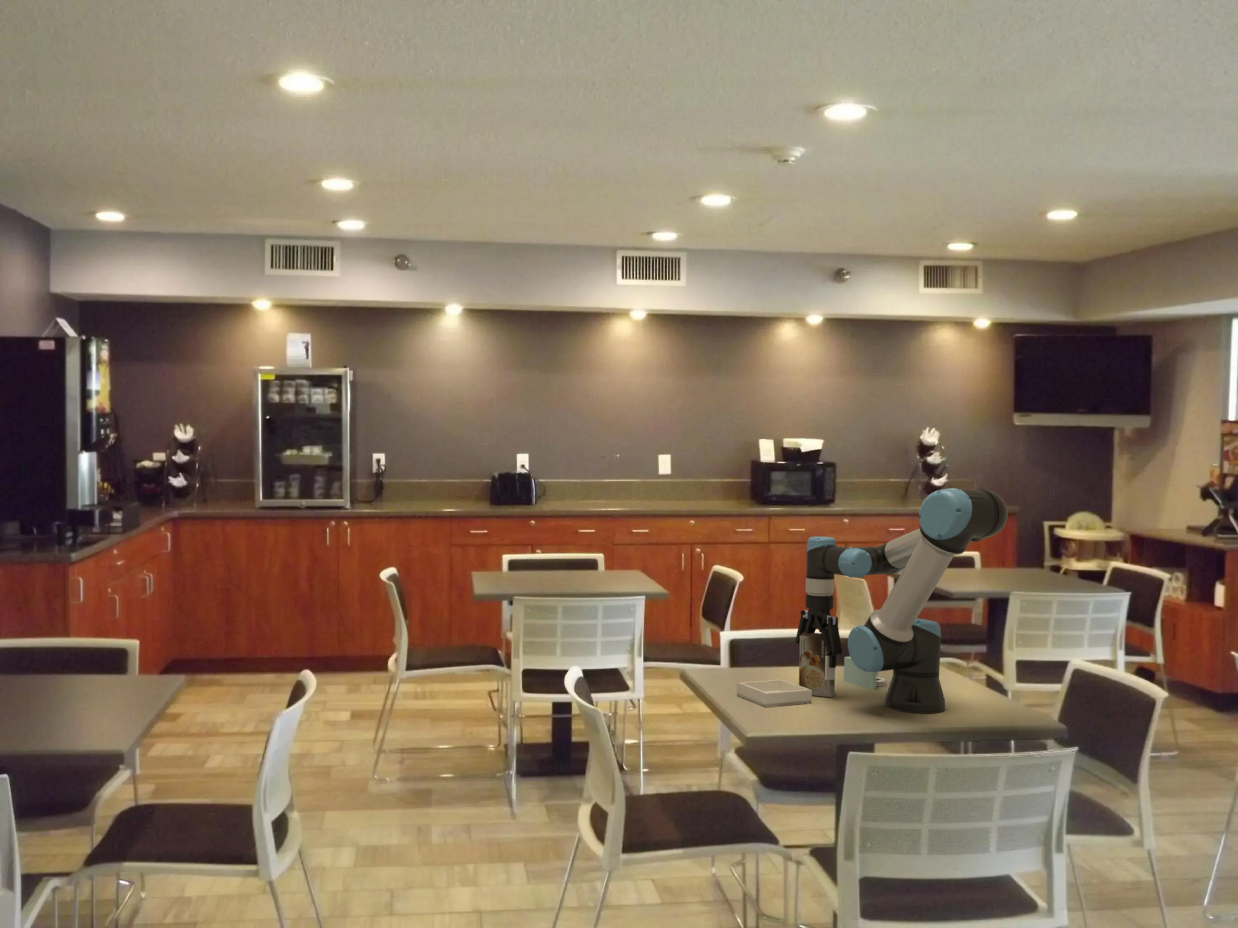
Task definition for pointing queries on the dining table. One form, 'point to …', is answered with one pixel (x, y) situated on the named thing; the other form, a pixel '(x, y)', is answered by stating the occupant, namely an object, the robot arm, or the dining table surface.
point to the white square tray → (774, 693)
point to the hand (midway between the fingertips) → (817, 675)
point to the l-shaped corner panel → (861, 676)
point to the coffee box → (814, 665)
